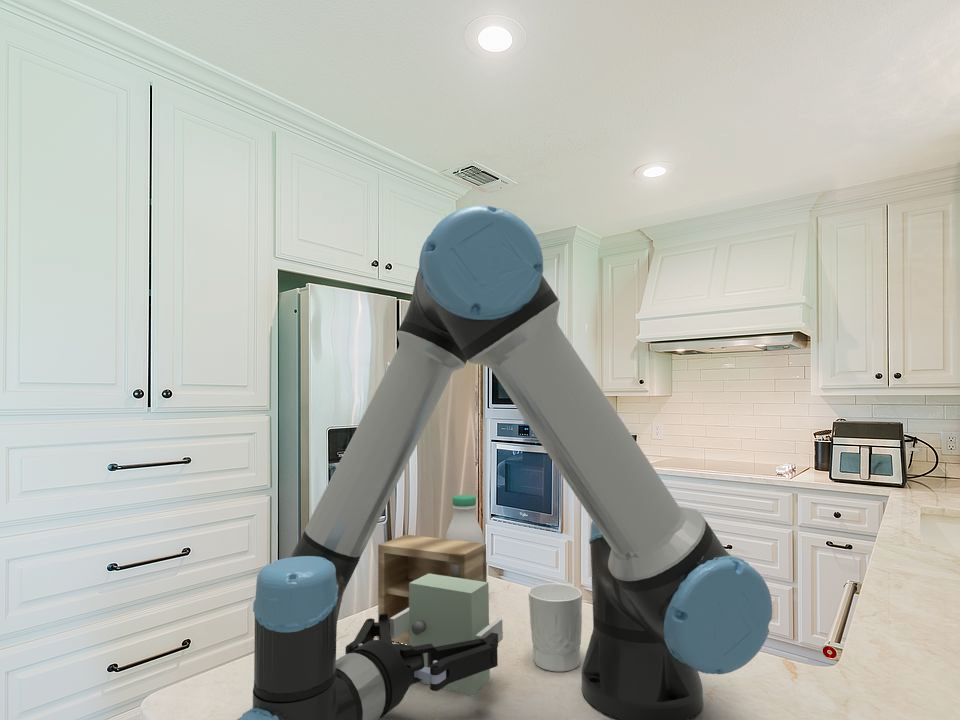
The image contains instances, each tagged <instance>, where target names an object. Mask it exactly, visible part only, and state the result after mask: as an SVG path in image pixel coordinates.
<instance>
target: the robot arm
mask: <svg viewBox="0 0 960 720" xmlns="http://www.w3.org/2000/svg"><path fill="white" fill-rule="evenodd" d="M418 260H419V261H418V265H419V266H418V270H417V272H416V277H415V281H414V287H413V290H412V294H411V298H410V302H409V305H408V308H407V311H406V314H405V316H404V318H403V320H402V323H401V324H400V326H399V328H398V330H397V332H396V337H397V340H398V343H399V344H398V348H397V349H396V351H395V353H394V355H393V357H392V359H391V361H390V363H389V365H388V367H387V369H386V370H385V373H384V375H383V377H382V378H381V381H380V382H379V384H378V386H377V388H376V390H375V392H374V394H373V396H372V398H371V400H370V402H369V403H368V406H367V408H366V410H365V412H364V414H363V415H362V418H361V419H360V421H359V423H358V425H357V428H356V429H355V431H354V433H353V435H352V437H351V438H350V441H349V443H348V444H347V446H346V449H345V451H344V452H343V454H342V456H341V458H340V460H339V462H338V464H337V466H336V468H335V470H334V472H333V474H332V476H331V478H330V480H329V482H328V484H327V486H326V487H325V490H324V491H323V493H322V496H321V497H320V499H319V501H318V503H317V505H316V507H315V509H314V510H313V513H312V515H311V516H310V519H309V521H308V522H307V525H306V527H305V528H304V531H303V533H302V535H301V537H300V538H299V540H298V542H297V543H296V546H295V547H294V550H293V552H292V554H291V555H290V557H284V558H282V559H278V560H274V562H272V563H271V562H270V563H268V564H266V565H265V566H264V567H262V568H261V569H260V571H259V573H258V574H257V577H256V585H255V597H254V598H255V599H254V600H253V603H252V604H253V606H252V607H253V608H252V611H253V613H254V651H253V652H254V654H253V657H254V661H253V662H254V663H253V665H254V667H253V668H254V670H253V671H254V672H253V673H254V674H253V677H254V678H253V688H252V708H250V709H249V710H247V711H245V712H243V713H242V715H241V716H240V717H239V718H237V719H236V720H381V719H382V718H383V717H384V716H386V715H387V714H388V713H389V712H391V711H392V710H393V709H395V708H396V707H397V706H398V705H399V704H400V703H401V702H402V701H403V699H404V697H405V695H406V694H407V692H408V690H409V688H410V687H411V686H412V685H414V684H418V683H421V682H420V681H421V680H425V681H428V682H430V685H429V686H430V687H429V689H430V690H431V692H432V691H433V692H437V691H440V690H442V689H444V688H443V687H445V686H446V685H447V684H449V683H452V682H455V681H458V680H460V679H463V678H466V677H469V676H471V675H474V674H477V673H480V672H483V671H485V670H488V669H493V668H496V667H498V664H499V663H498V661H499V660H498V657H499V656H498V647H499V643H501V641H502V640H503V638H504V635H503V618H500V617H497V618H495V619H494V620H493V621H492V622H491V623H489V625H488V626H487V627H485V628H484V629H483V630H482V631H480V632H479V633H478V634H477V635H475V640H470V641H464V642H459V643H453V644H448V645H443V646H437V647H434V646H433V645H432V644H425V645H419V646H411V645H405V644H401V643H394V642H392V639H395V638H397V637H398V636H400V635H402V634H403V633H405V632H406V631H408V630H409V608H407V609H405V610H403V611H402V612H400V613H398V614H396V615H394V616H393V617H391V618H389V619H388V614H386V613H382V614H380V615H379V622H378V621H377V622H375V618H373V617H372V618H371V617H369V618H367V619H365V621H364V622H363V624H362V626H361V628H360V629H359V631H358V633H357V634H356V636H355V638H354V639H353V641H351V642H349V643H348V644H347V645H345V654H344V655H343V656H340V657H339V658H337V633H338V631H337V627H338V626H337V625H338V619H339V615H340V609H341V604H342V603H343V596H344V593H345V591H346V588H347V586H348V585H349V583H350V581H351V579H352V577H353V574H354V572H355V570H356V568H357V566H358V564H359V562H360V559H361V557H362V555H363V553H364V550H365V549H366V547H367V545H368V543H369V541H370V539H371V537H372V535H373V533H374V531H375V528H376V527H377V525H378V524H379V520H380V519H381V516H382V515H383V512H384V510H385V509H386V507H387V505H388V503H389V501H390V499H391V497H392V495H393V493H394V491H395V489H396V487H397V485H398V483H399V480H400V479H401V477H402V475H403V473H404V471H405V469H406V467H407V464H408V463H409V461H410V459H411V456H412V455H413V453H414V451H415V450H416V446H417V445H418V443H419V441H420V439H421V437H422V435H423V433H424V431H425V429H426V426H427V425H428V423H429V421H430V419H431V417H432V415H433V413H434V411H435V409H436V407H437V405H438V403H439V401H440V399H441V397H442V395H443V393H444V391H445V389H446V387H447V385H448V382H449V381H450V380H451V377H452V375H453V374H454V372H455V371H458V370H461V369H463V368H465V366H466V364H467V362H469V364H470V363H471V364H475V365H479V366H484V367H487V368H488V369H490V370H491V372H492V373H493V375H494V376H495V377H496V379H497V381H498V382H499V383H500V385H501V386H502V388H503V389H504V391H505V393H506V394H507V395H508V397H509V398H510V400H511V401H512V403H513V404H514V405H515V407H516V408H517V410H518V411H519V413H520V415H521V416H522V417H523V419H524V420H525V422H526V424H527V425H528V426H529V428H530V429H531V431H532V433H533V434H534V436H535V437H536V438H537V440H538V441H539V443H540V444H541V446H542V447H543V449H544V450H545V452H546V453H547V454H548V456H549V458H550V460H551V461H552V462H553V464H554V465H555V466H556V468H557V470H558V471H559V473H560V474H561V476H562V477H563V479H564V480H565V482H566V483H567V484H568V486H569V488H570V489H571V490H572V492H573V494H574V495H575V497H577V500H578V501H579V502H580V504H581V505H582V507H583V508H584V510H585V511H586V513H587V514H588V516H589V517H590V519H591V520H592V521H591V523H590V538H589V539H588V540H589V545H590V564H591V565H590V569H591V571H590V573H591V593H592V600H591V601H592V619H593V620H592V621H593V629H592V633H591V636H590V640H589V643H588V646H587V650H586V654H585V657H584V661H583V664H582V666H581V673H580V674H581V693H582V695H583V696H584V698H585V699H586V701H587V702H588V703H589V704H590V705H592V706H593V707H594V708H595V709H597V710H598V711H599V712H602V713H604V714H606V715H607V716H610V717H612V718H615V719H618V720H687V719H689V720H691V719H693V718H694V716H695V715H696V716H697V715H698V714H700V712H701V711H702V708H703V707H704V706H703V705H704V696H703V694H704V693H703V683H702V679H701V676H700V673H703V674H706V675H708V674H711V675H724V674H725V675H727V674H729V673H732V672H735V671H737V670H739V669H741V668H743V667H745V666H746V665H747V664H748V663H750V662H751V661H752V660H753V659H754V658H755V657H756V655H758V653H759V652H760V651H761V649H762V648H763V646H764V645H765V642H766V640H767V638H768V636H769V633H770V629H769V626H770V623H771V621H772V619H773V600H772V596H771V593H770V589H769V586H768V584H767V583H766V581H765V578H763V576H762V575H761V574H760V572H759V571H757V570H756V568H754V567H753V566H751V565H750V564H749V563H748V562H747V561H745V560H744V559H743V558H740V557H737V556H733V555H730V553H729V552H728V551H727V550H726V548H725V547H724V546H723V544H722V543H721V541H720V540H719V538H718V537H717V535H716V534H715V532H714V530H713V529H712V527H711V526H710V525H709V523H708V522H707V520H706V519H705V517H704V516H703V515H702V513H701V512H700V511H699V510H696V509H694V508H691V507H684V506H680V505H679V504H678V503H677V501H676V500H675V498H674V497H673V495H672V494H671V492H670V490H669V489H668V488H667V486H666V484H665V483H664V482H663V480H662V479H661V477H660V476H659V474H658V473H657V471H656V470H655V468H654V467H653V465H652V464H651V463H650V461H649V459H648V457H647V456H646V455H645V453H644V452H643V450H642V449H641V447H640V446H639V444H638V443H637V441H636V440H635V438H634V437H633V435H632V434H631V432H630V431H629V429H628V428H627V426H626V425H625V423H624V422H623V421H622V419H621V417H620V416H619V414H618V413H617V411H616V410H615V408H614V407H613V405H612V403H611V402H610V401H609V400H608V398H607V396H606V395H605V394H604V392H603V390H602V389H601V387H600V386H599V384H598V383H597V382H596V380H595V378H594V377H593V375H592V374H591V372H590V371H589V369H588V367H587V366H586V365H585V363H584V361H583V360H582V359H581V358H580V355H579V354H578V353H577V352H576V350H575V349H574V347H573V345H572V343H570V341H569V339H568V338H567V336H566V334H564V332H563V330H562V329H561V327H560V326H559V325H558V315H559V310H560V304H561V301H560V299H559V298H558V297H557V295H556V294H555V291H554V290H553V289H552V287H551V286H550V284H549V283H548V281H547V280H546V278H545V277H544V275H543V273H544V257H543V252H542V248H541V245H540V241H538V238H537V237H536V234H535V232H533V230H532V229H531V227H530V226H529V225H528V224H527V223H526V222H525V221H524V220H522V219H521V218H520V217H519V216H517V215H516V214H514V213H512V212H510V211H509V210H506V209H504V208H500V207H494V206H490V205H481V204H480V205H479V204H478V205H471V206H466V207H462V208H459V209H457V210H455V211H453V212H451V213H449V214H448V215H446V216H445V217H443V219H441V220H440V221H439V222H438V223H437V224H436V225H435V227H433V229H432V230H431V232H430V234H429V235H428V236H427V237H426V240H425V241H424V243H423V245H422V246H421V250H420V254H419V259H418ZM378 636H379V639H375V637H378ZM423 653H427V655H428V666H427V667H424V656H423ZM699 672H700V673H699ZM696 716H695V717H696ZM692 717H693V718H692ZM690 718H691V719H690Z"/></svg>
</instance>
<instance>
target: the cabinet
mask: <svg viewBox="0 0 960 720" xmlns="http://www.w3.org/2000/svg"><path fill="white" fill-rule="evenodd" d="M377 548H378V549H377V550H378V551H377V552H378V553H377V555H378V556H377V557H378V558H377V560H378V561H377V565H378V566H377V568H378V569H377V570H378V572H377V575H378V576H377V585H378V586H377V594H378V595H377V599H378V600H377V605H378V606H377V609H378V610H377V613H378V614H377V616H378V617H377V622H379V615H380V614H382V613H386V614H388V619H389V618H391V617H393V616H394V615H396V614H398V613H400V612H402V611H403V610H405V609H407V608H409V583H410V582H412V581H414V580H416V579H418V578H420V577H422V576H424V575H426V574H428V573H429V574H436V575H442V576H449V577H456V578H462V579H469V580H476V581H482V582H488V581H487V575H488V574H487V543H485V542H484V543H476V542H467V541H458V540H449V539H446V538H440V537H432V536H431V537H429V536H423V535H422V536H421V535H415V534H414V535H412V534H404V535H401V536H399V537H395V538H393V539H390V540H388V541H385V542H384V541H383V542H382V543H379V544H377ZM377 638H379V636H377ZM392 641H394V642H393V643H396V642H399V643H403V644H407V645H409V630H408V631H406V632H405V633H403V634H402V635H400V636H398V637H397V638H395V639H392ZM399 643H398V644H399Z"/></svg>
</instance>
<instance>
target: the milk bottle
mask: <svg viewBox="0 0 960 720" xmlns="http://www.w3.org/2000/svg"><path fill="white" fill-rule="evenodd" d="M476 503H477V497H476V496H475V495H473V494H458V495H454V496H452V508H453V515H452V518H451V521H450V524H449V526H448V528H447V532H446V534H445V539H449V540H458V541H467V542H476V543H484V544H485V539H484V534H483V531H482V528H481V526H480V524H479V521H478V518H477V515H476V511H475V510H476V509H475V508H477V505H476Z"/></svg>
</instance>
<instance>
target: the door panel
mask: <svg viewBox="0 0 960 720" xmlns="http://www.w3.org/2000/svg"><path fill="white" fill-rule="evenodd" d="M489 596H490V595H489V582H488V581H487V582H482V581H476V580H469V579H462V578H456V577H449V576H442V575H436V574H429V573H428V574H426V575H424V576H422V577H420V578H418V579H416V580H414V581H412V582H410V583H409V645H411V646H419V645H425V644H432V645H433V646H434V647H437V646H443V645H448V644H453V643H459V642H464V641H470V640H475V635H477V634H478V633H479V632H480V631H482V630H483V629H484V628H485V627H487V626H488V625H489V624H490V606H489V605H490V604H489V601H490V597H489ZM423 656H424V667H427V666H428V655H427V653H423ZM490 672H491V671H490V669H488V670H485V671H483V672H480V673H477V674H474V675H471V676H469V677H466V678H463V679H460V680H458V681H455V682H452V683H449V684H447V685H446V686H445V687H443V688H442V689H444V690H449V691H452V692H456V693H460V694H464V695H467V696H468V695H469V696H472V697H473V696H474V695H475V694H476V693H478V691H480V689H481V688H482V687H484V685H485V684H486V683H488V681H490V680H491V679H490V678H491V677H490V676H491V674H490ZM419 683H421V684H426V685H429V686H430V682H428V681H425V680H421V681H420V682H419Z"/></svg>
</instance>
